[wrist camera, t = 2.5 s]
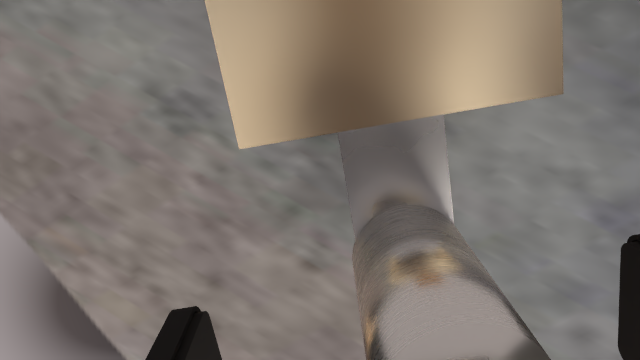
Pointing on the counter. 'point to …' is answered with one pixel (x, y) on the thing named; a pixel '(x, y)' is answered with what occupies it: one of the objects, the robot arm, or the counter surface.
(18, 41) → the counter surface
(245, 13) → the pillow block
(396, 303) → the shaft
